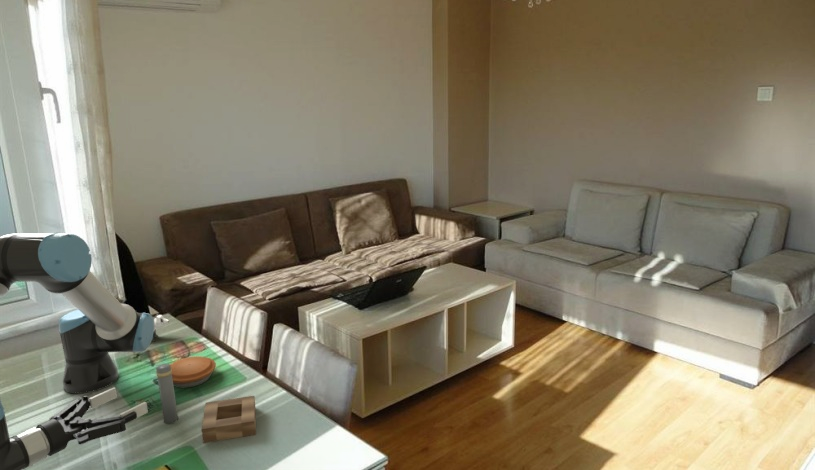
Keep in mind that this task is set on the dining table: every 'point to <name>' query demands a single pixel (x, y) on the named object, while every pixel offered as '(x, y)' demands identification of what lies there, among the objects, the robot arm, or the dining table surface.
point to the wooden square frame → (229, 419)
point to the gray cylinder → (167, 393)
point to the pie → (192, 371)
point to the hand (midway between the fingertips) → (130, 399)
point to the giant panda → (158, 324)
